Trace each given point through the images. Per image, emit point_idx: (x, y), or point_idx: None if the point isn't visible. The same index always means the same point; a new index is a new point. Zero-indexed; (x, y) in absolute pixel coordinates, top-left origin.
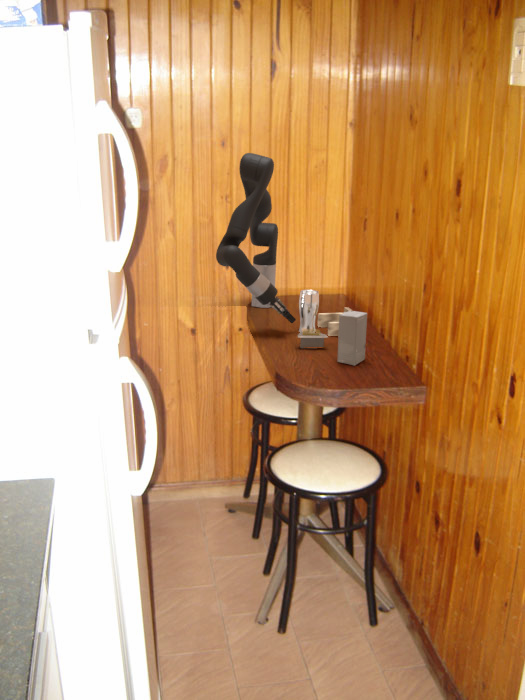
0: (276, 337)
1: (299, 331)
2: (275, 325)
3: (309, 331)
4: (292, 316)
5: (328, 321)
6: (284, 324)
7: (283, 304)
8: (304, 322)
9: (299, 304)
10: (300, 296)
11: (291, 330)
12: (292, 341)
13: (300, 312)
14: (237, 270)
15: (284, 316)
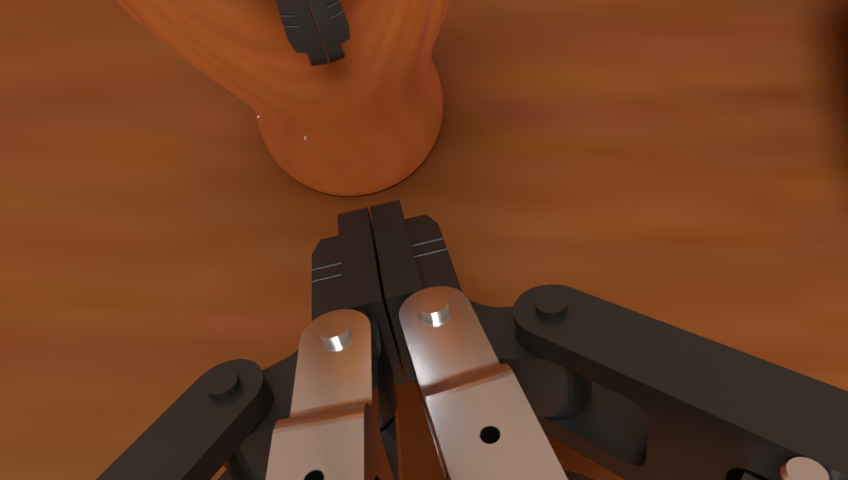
0: (591, 467)
1: (376, 188)
2: (92, 465)
3: (437, 76)
4: (409, 241)
5: None
6: (50, 349)
7: (556, 464)
8: (418, 88)
9: (308, 26)
10: None
11: (293, 276)
12: (711, 284)
13: (366, 84)
14: None
15: (604, 396)
